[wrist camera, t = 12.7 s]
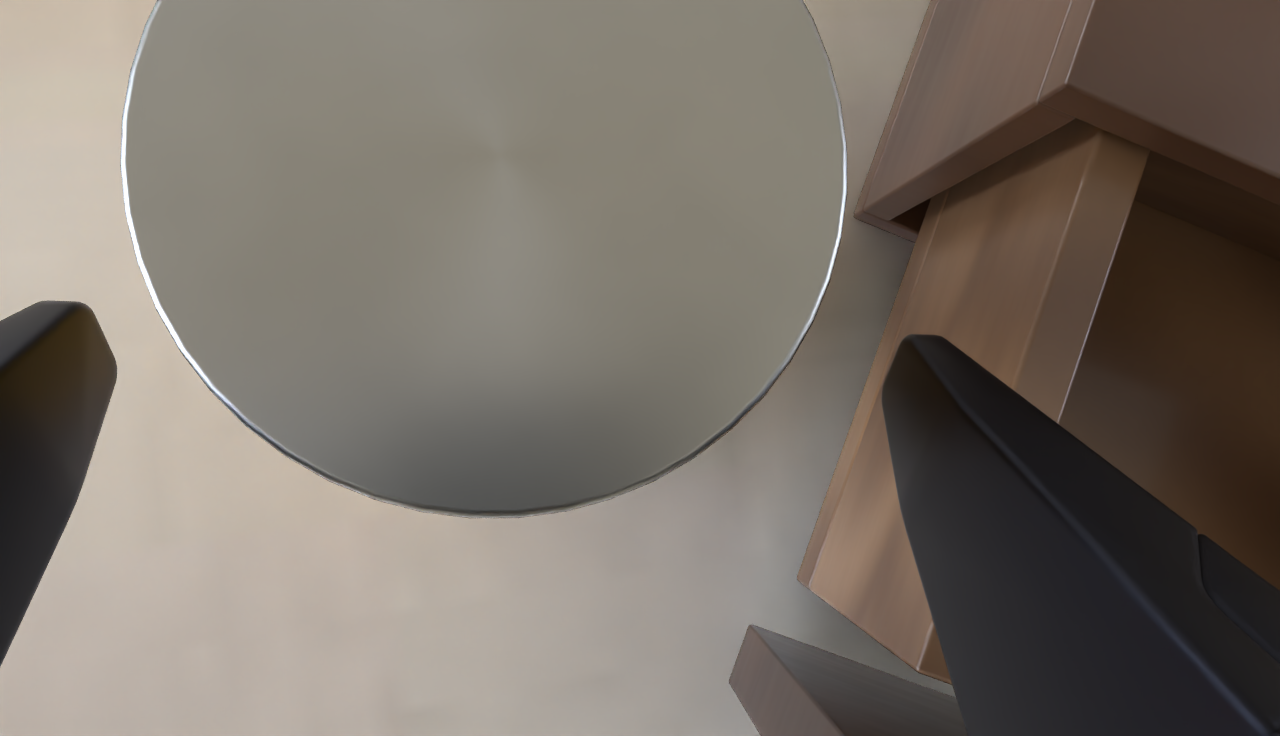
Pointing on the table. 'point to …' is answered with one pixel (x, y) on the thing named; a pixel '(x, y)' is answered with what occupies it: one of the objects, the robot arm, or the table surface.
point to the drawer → (1052, 393)
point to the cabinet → (1079, 92)
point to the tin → (485, 230)
